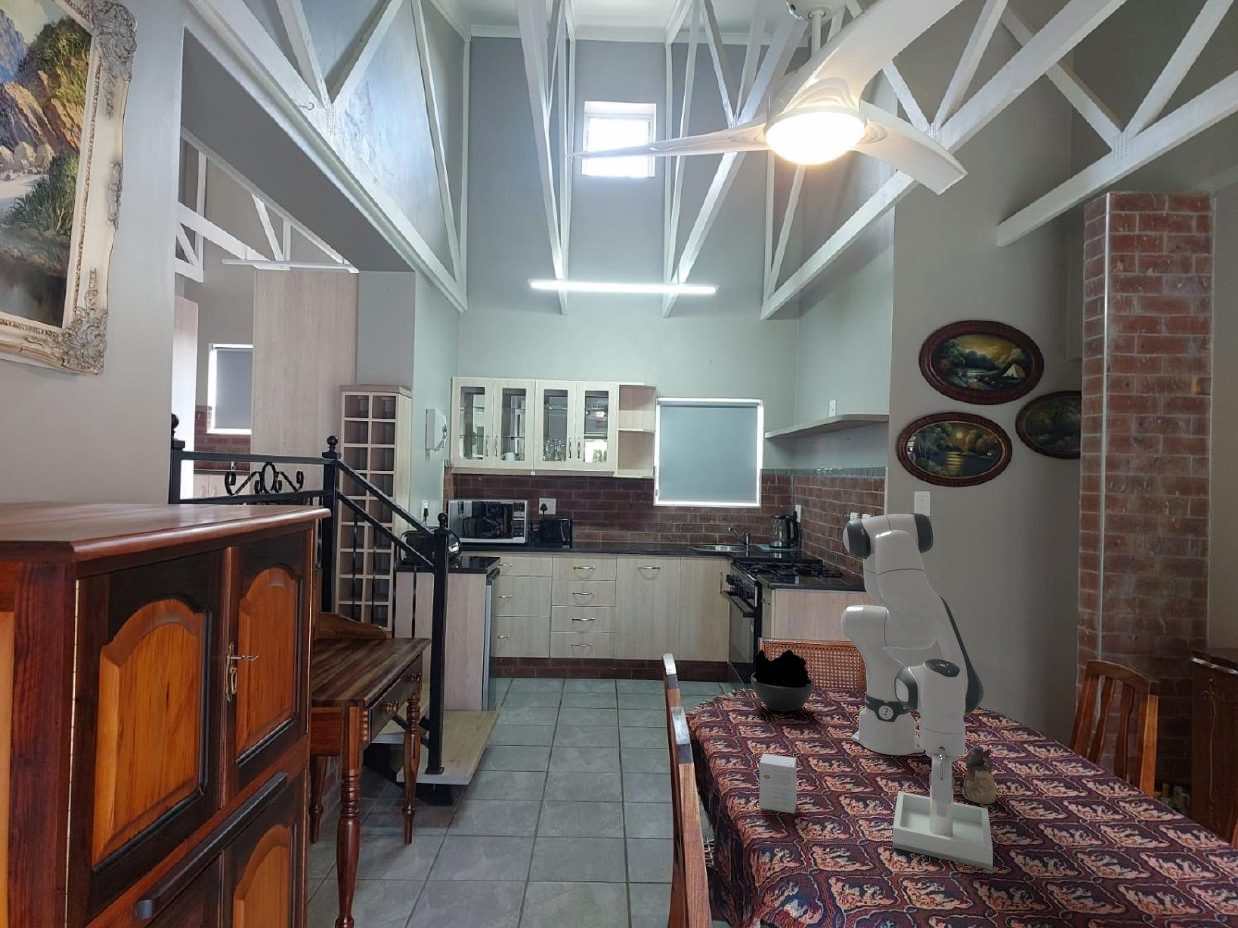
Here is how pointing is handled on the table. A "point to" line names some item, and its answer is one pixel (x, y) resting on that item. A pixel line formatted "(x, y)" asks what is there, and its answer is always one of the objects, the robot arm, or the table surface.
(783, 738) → the table surface
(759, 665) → the coal bowl
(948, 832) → the shaker
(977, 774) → the figurine
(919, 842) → the tray
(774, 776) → the small box
